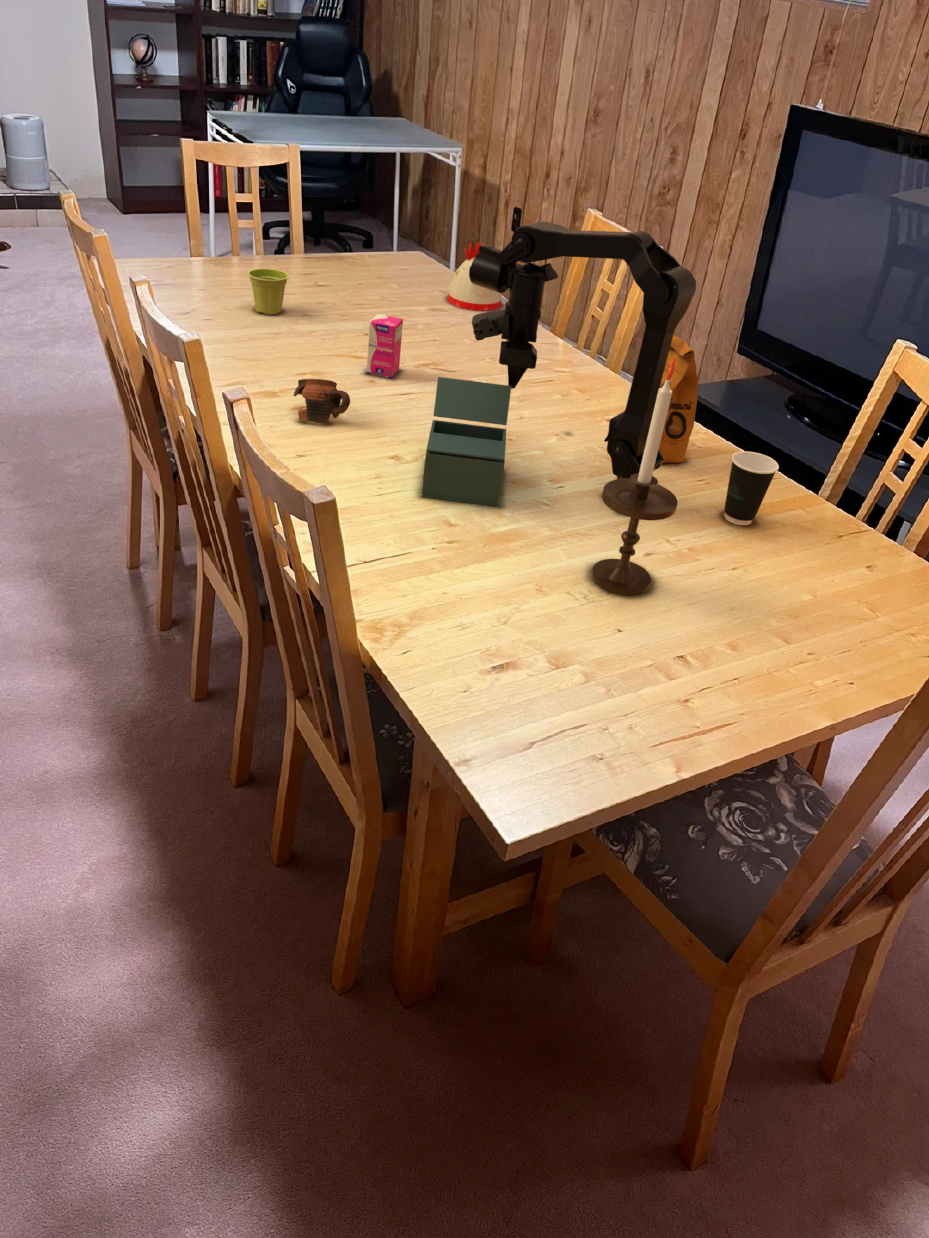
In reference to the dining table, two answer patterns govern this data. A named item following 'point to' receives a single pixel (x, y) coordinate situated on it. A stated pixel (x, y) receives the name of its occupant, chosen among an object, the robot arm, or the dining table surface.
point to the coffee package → (679, 402)
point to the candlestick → (637, 507)
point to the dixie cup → (748, 485)
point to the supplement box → (384, 345)
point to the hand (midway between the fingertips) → (511, 387)
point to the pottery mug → (321, 400)
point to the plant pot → (268, 289)
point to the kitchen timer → (471, 288)
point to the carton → (464, 463)
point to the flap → (472, 401)
